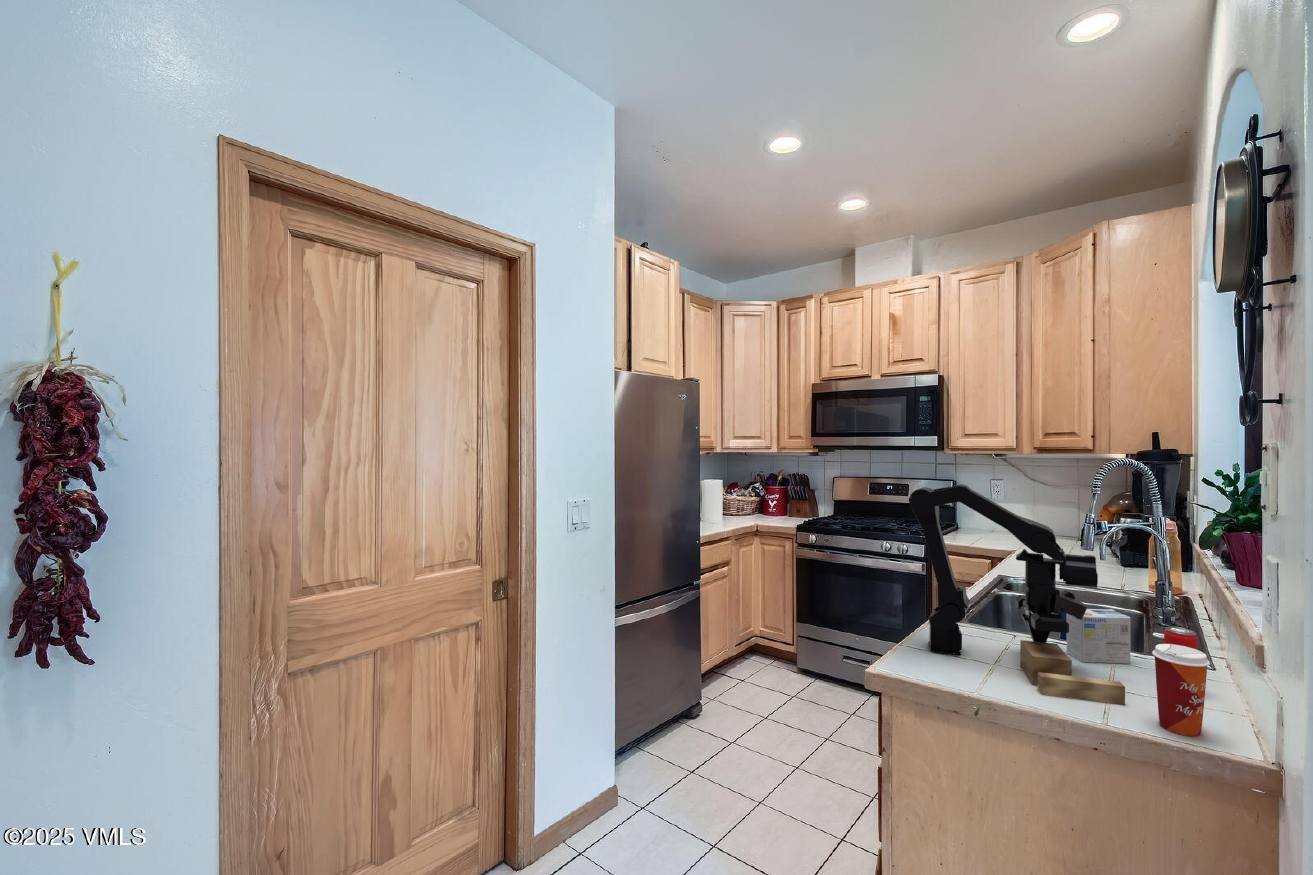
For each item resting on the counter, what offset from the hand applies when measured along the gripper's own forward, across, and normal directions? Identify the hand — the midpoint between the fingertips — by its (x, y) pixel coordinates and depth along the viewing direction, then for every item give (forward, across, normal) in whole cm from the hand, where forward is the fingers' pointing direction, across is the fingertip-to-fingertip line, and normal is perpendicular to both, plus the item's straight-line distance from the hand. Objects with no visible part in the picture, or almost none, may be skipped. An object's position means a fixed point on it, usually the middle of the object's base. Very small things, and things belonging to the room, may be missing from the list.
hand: (1039, 650), depth 133 cm
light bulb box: (+4, +10, -14) cm, 18 cm away
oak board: (+4, -15, -3) cm, 16 cm away
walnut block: (+4, -7, +1) cm, 8 cm away
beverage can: (+4, -4, -24) cm, 25 cm away
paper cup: (+4, -24, -16) cm, 29 cm away
